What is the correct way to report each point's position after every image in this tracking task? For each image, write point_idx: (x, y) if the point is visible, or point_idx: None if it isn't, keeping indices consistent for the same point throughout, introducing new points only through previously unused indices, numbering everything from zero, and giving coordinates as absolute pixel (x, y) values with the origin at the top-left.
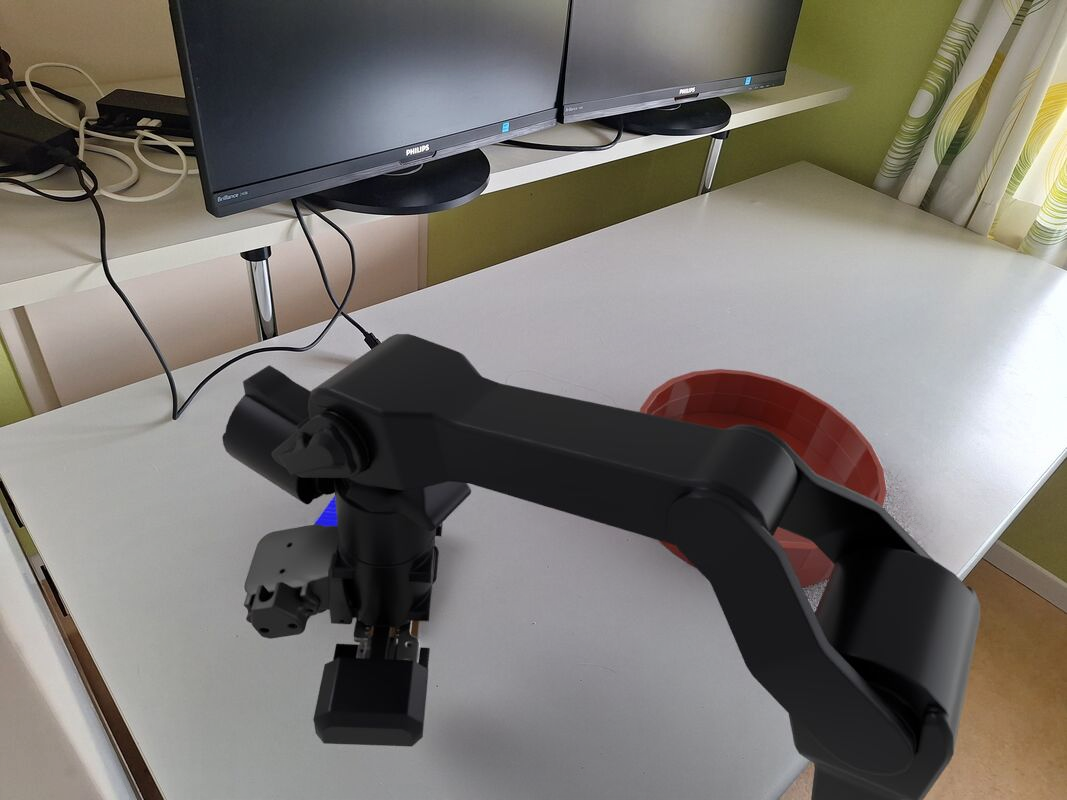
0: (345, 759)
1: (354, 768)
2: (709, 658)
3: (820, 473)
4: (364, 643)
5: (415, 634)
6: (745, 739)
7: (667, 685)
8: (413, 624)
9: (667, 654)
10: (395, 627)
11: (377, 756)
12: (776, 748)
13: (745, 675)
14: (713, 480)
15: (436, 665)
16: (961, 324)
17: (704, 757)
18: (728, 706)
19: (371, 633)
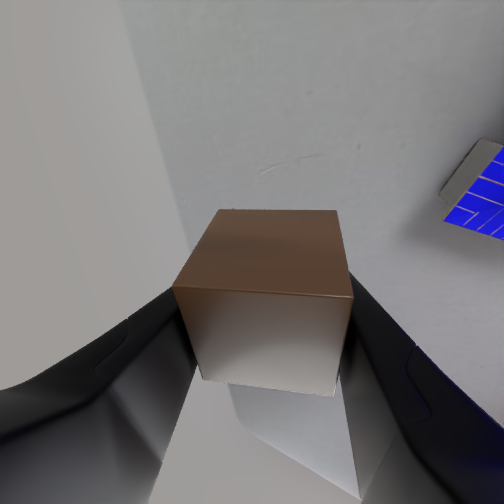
0: (201, 149)
1: (193, 164)
2: (336, 431)
3: None
4: (247, 300)
5: (285, 389)
6: (271, 427)
7: (312, 409)
8: (314, 388)
9: (342, 415)
10: (305, 359)
11: (214, 192)
12: (267, 435)
13: (320, 440)
14: None
15: (346, 252)
16: None
17: (256, 410)
18: (295, 428)
19: (282, 315)
